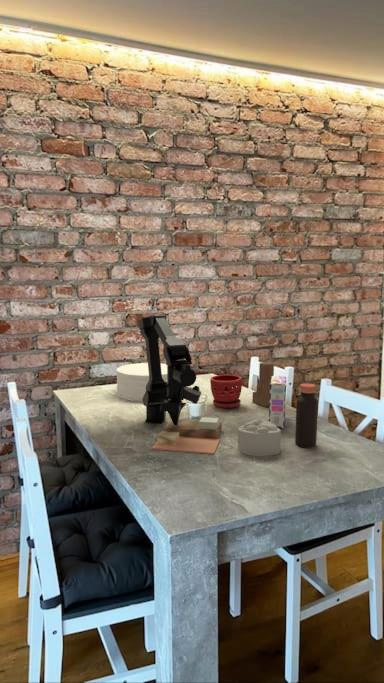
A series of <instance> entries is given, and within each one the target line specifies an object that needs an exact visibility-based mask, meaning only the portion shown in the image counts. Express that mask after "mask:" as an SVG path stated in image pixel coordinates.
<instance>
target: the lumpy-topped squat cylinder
mask: <svg viewBox="0 0 384 683" xmlns="http://www.w3.org/2000/svg"><path fill="white" fill-rule="evenodd" d="M237 431H238V432H237V451H238V452H239V453H240V454H243V455H247V456H254V457H255V456H256V457H261V456H262V457H265V456H273V455H278V454H280V453H281V440H282V435H281V434H282V432H281V431H282V430H281V428H277V427H276V425H274V424H272V423H271V422H269V421H263V422H261V421H260V420H259V419H253V420H252V421H250V422H245V423H244V424H243V425H241V426H239V427H238V429H237Z"/></svg>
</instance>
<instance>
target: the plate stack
mask: <svg viewBox="0 0 384 683" xmlns="http://www.w3.org/2000/svg"><path fill="white" fill-rule="evenodd" d="M161 373H162V378H163V380H164V381H165V382H167V365H166V363H161ZM116 379H117V380H116V395H117V397H119V398H122V399H123V398H124V400H127V399H128V401H134V400H136V402H143V400H142V398H143V396H144V394H145V392H146V385H147V383H148V381H149V370H148V362H140V363H139V362H138V363H137V362H136V363H130V364H125V365H120V366H118V367H117V368H116Z"/></svg>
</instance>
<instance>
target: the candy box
mask: <svg viewBox="0 0 384 683" xmlns="http://www.w3.org/2000/svg"><path fill="white" fill-rule="evenodd" d="M286 397H287V376H281V375H279V376H278V375H274V376H272V378H271V383H270V401H269V406H268V407H269V409H268V422H271V423H272V424H274V425H276V427H277V428H279V429H285V424H286Z"/></svg>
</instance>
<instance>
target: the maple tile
mask: <svg viewBox="0 0 384 683" xmlns="http://www.w3.org/2000/svg"><path fill="white" fill-rule="evenodd" d="M178 441H179V433H178V432H167V431H165V430H161V431H160V432H159V433H158V434H157V440H156V442H157V443H160V444H170V445H176V443H177V442H178Z"/></svg>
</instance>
